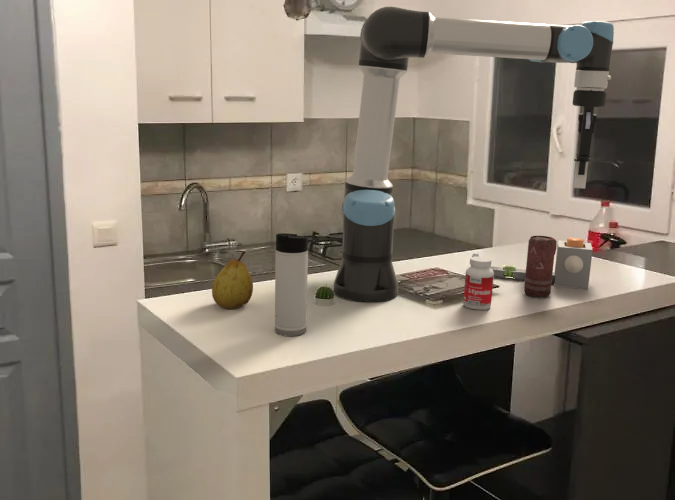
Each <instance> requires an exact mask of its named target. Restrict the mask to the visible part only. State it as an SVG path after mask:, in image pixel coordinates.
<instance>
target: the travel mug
mask: <svg viewBox="0 0 675 500" xmlns="http://www.w3.org/2000/svg"><path fill="white" fill-rule="evenodd" d="M275 244H276V245H275V265H274V266H275V270H274V272H275V274H274V275H275V276H274V277H275V279H274V283H275V284H274V291H275V292H274V331H275V333H276V334H278V335H280V336H283V337H284V336H285V337H298V336H302V335H304V334H305V333H306V332H307V322H308V321H307V317H308V315H307V314H308V310H307V308H308V274H309V273H308V271H309V270H308V267H309V261H308V260H309V246H308V245H309V236H307V235H298V234H296V233H286V232H285V233H283V232H281V233H279V232H278V233H276V234H275Z"/></svg>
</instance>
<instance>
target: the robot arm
mask: <svg viewBox="0 0 675 500" xmlns="http://www.w3.org/2000/svg"><path fill="white" fill-rule="evenodd" d="M614 29H615V27H614V24H613V23H612V22H609V21H597V20H596V21H592V20H591V21H584V22H582V23H581V24H570V25H563V24H549V23H547V24H546V23H533V22H532V23H531V22H516V21H500V20H498V21H497V20H487V19H486V20H485V19H483V20H481V19H468V18H454V17H453V18H452V17H438V16H437V17H436V16H434V15H432V13H431V12H430V11H420V10H412V9H407V8H401V7H396V6H384V7H380V8H379V9H375V11H373V12H371V14H370V15H369V16H368V17H367V18H366V20H364V22H363V24H362V27H361V29H360V35H359V39H360V47H359V56H358V68H359V70H360V71H361V72H362V74H363V78H362V80H363V81H362V89H361V97H360V105H359V116H358V123H357V124H358V125H357V133H356V143H355V151H354V161H353V171H352V174H351V175H350V176H349V177H348V178H346V180H345V188H344V195H343V196H344V197H343V202H342V205H341V217H342V244H341V245H342V251H341V252H342V254H341V262H340V264H339V267H338V270H337V273H336V276H335V279H334V281H333V293H334V295H336V296H337V297H339V298H342V299H346V300H350V301H354V302H365V303H368V302H370V303H372V302H373V303H374V302H375V303H376V302H384V301H385V302H386V301H389V300H392V299H395V298H396V297H397V296H398V295H399V283H398V279H397V275H396V272H395V269H394V266H393V265H394V264H393V248H394V247H393V245H394V228H395V227H394V224H395V223H394V222H395V214H396V207H395V199H394V197H393V196H392V195H393V188H394V185H393V183H392V182H391V181H390V180H389V178H388V176H389V168H390V160H391V152H392V151H391V150H392V145H393V136H394V128H395V120H396V111H397V110H396V109H397V103H398V95H399V87H400V79H401V77H403V76H404V75H405V74H406V73H408V67H409V65H408V64H409V58H422V59H425V58H427V57H429V55H430V54H433V55H434V54H436V55H437V54H438V55H452V56H453V55H454V56H470V57H471V56H472V57H485V58H486V57H488V58H506V59H522V60H528V61H530V62H535V63H536V62H537V63H541V64H542V63H555V64H556V63H557V64H558V63H565V64H567V63H568V64H569V63H570V64H576V68H575V74H574V76H575V77H574V83H573V84H574V85H573V86H574V88H576V89H574V91H573V95H572V106H574V107H582V112H581V113H578V117H577V119H578V120H577V121H578V127H577V129H578V130H577V131H578V141H577V142H578V144H577V152H576V157H574V159H573V160H574V162H576V163H575V171H574V181H573V188H574V189H583V190H585V189H586V185H587V184H586V183H587V176H588V167H589V162H591V161H592V160H591V157H590V154H591V144H592V137H593V133H594V132H595V123H596V122H597V116H598V115H597V114H594V113H595V111H594V110H595V108H604V107H606V103H607V94H608V93H607V91H606V89H607V88H608V84H609V83H608V82H609V81H610V80H612V76H611V75H609V74H610V67H611V59H612V53H613V45H614V33H615V32H614Z"/></svg>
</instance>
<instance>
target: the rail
mask: <svg viewBox="0 0 675 500" xmlns="http://www.w3.org/2000/svg"><path fill="white" fill-rule="evenodd" d="M471 257H480V256H479V253H472V255H471ZM490 268H491V269H492V270H493V272H494V278H499V279H506V278H505V277H506V276H504V275H503V273H504V272H506V271H505V270H503V268H504V267H499V266H491V267H490ZM514 269H515V270H516V271H510V272H512V273H513V274H514V276H513V278H515V279H514V280H517V281H525V275H526V269H521V268H520V269H519V268H514ZM554 281H555V272H553V274H552V283H551V284H554Z"/></svg>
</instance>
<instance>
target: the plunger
mask: <svg viewBox="0 0 675 500" xmlns="http://www.w3.org/2000/svg"><path fill="white" fill-rule="evenodd" d="M566 241H567V244H566V246H568V247H580V248H583V243H585V242H584V241H585V240H584V239H582V238H580V237H579V238H578V237H567V238H566Z"/></svg>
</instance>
